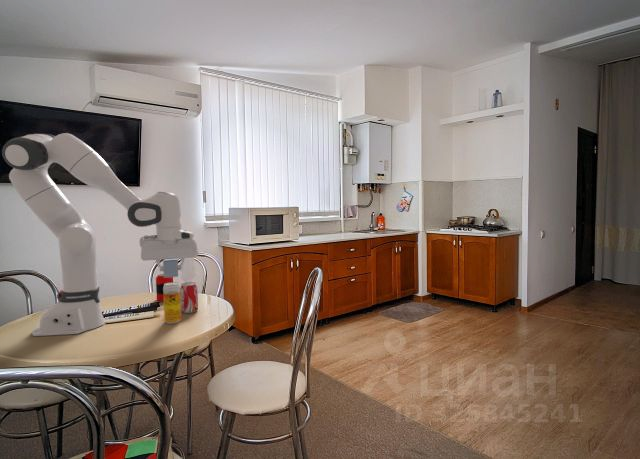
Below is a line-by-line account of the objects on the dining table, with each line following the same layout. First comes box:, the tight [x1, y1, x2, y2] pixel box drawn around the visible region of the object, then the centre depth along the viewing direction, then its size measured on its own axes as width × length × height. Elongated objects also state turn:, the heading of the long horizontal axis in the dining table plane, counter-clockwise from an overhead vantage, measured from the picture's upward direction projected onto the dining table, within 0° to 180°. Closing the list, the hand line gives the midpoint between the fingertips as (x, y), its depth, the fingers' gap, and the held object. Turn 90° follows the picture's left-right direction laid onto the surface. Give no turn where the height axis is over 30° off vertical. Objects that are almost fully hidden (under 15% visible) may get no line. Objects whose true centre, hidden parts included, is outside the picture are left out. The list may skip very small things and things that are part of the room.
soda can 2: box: [180, 281, 199, 314], centre depth 159 cm, size 7×7×12 cm
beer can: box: [163, 281, 182, 325], centre depth 146 cm, size 6×6×15 cm
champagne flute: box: [180, 257, 197, 283], centre depth 169 cm, size 7×7×24 cm
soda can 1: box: [155, 273, 174, 303], centre depth 179 cm, size 8×8×12 cm
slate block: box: [162, 258, 179, 278], centre depth 145 cm, size 5×5×6 cm
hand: (171, 270), depth 145 cm, fingers closed on slate block, 5 cm apart
